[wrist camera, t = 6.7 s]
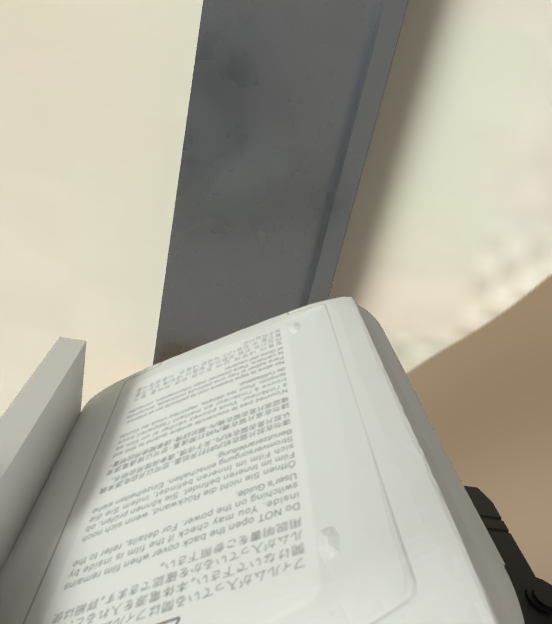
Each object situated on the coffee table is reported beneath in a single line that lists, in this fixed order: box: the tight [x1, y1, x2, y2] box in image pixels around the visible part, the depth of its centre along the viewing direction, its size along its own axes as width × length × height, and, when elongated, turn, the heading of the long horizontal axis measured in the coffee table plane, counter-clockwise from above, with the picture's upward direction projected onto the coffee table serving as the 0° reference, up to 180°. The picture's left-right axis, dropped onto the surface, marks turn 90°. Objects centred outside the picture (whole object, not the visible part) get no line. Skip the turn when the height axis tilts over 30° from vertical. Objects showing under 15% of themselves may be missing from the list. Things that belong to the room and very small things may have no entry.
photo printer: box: [0, 297, 525, 624], centre depth 12 cm, size 10×4×12 cm, turn 113°
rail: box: [153, 0, 408, 365], centre depth 26 cm, size 32×9×6 cm, turn 168°
